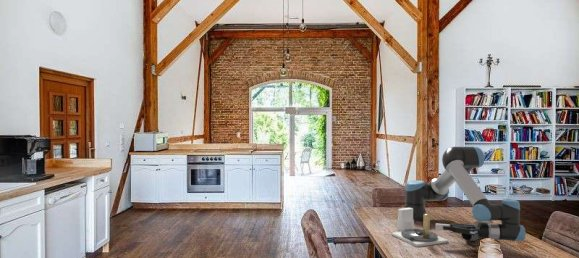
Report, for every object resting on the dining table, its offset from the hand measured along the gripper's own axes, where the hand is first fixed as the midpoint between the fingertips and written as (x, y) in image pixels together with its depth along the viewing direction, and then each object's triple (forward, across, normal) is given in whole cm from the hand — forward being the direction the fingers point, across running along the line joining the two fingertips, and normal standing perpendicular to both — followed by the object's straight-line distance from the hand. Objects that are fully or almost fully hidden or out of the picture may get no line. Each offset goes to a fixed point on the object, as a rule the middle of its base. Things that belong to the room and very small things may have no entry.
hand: (435, 226), depth 185 cm
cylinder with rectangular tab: (+14, +22, -9) cm, 27 cm away
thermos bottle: (-30, +30, -5) cm, 43 cm away
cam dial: (+7, +7, -7) cm, 12 cm away
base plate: (+7, +7, -9) cm, 13 cm away
